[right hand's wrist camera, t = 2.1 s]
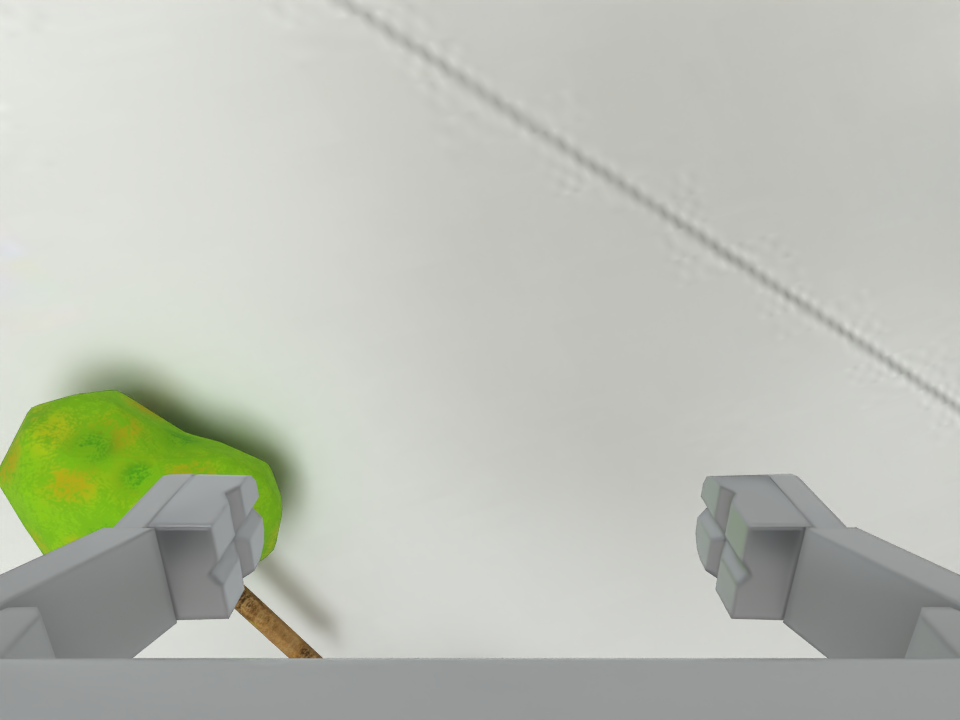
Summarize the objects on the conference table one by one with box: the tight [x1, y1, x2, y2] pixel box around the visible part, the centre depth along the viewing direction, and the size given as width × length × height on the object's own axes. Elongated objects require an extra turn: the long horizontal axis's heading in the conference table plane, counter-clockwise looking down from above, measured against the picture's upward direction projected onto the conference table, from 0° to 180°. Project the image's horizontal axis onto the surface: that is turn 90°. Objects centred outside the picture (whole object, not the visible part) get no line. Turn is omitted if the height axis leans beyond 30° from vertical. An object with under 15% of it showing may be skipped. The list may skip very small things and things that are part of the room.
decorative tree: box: [0, 390, 322, 658], centre depth 44 cm, size 18×10×30 cm
